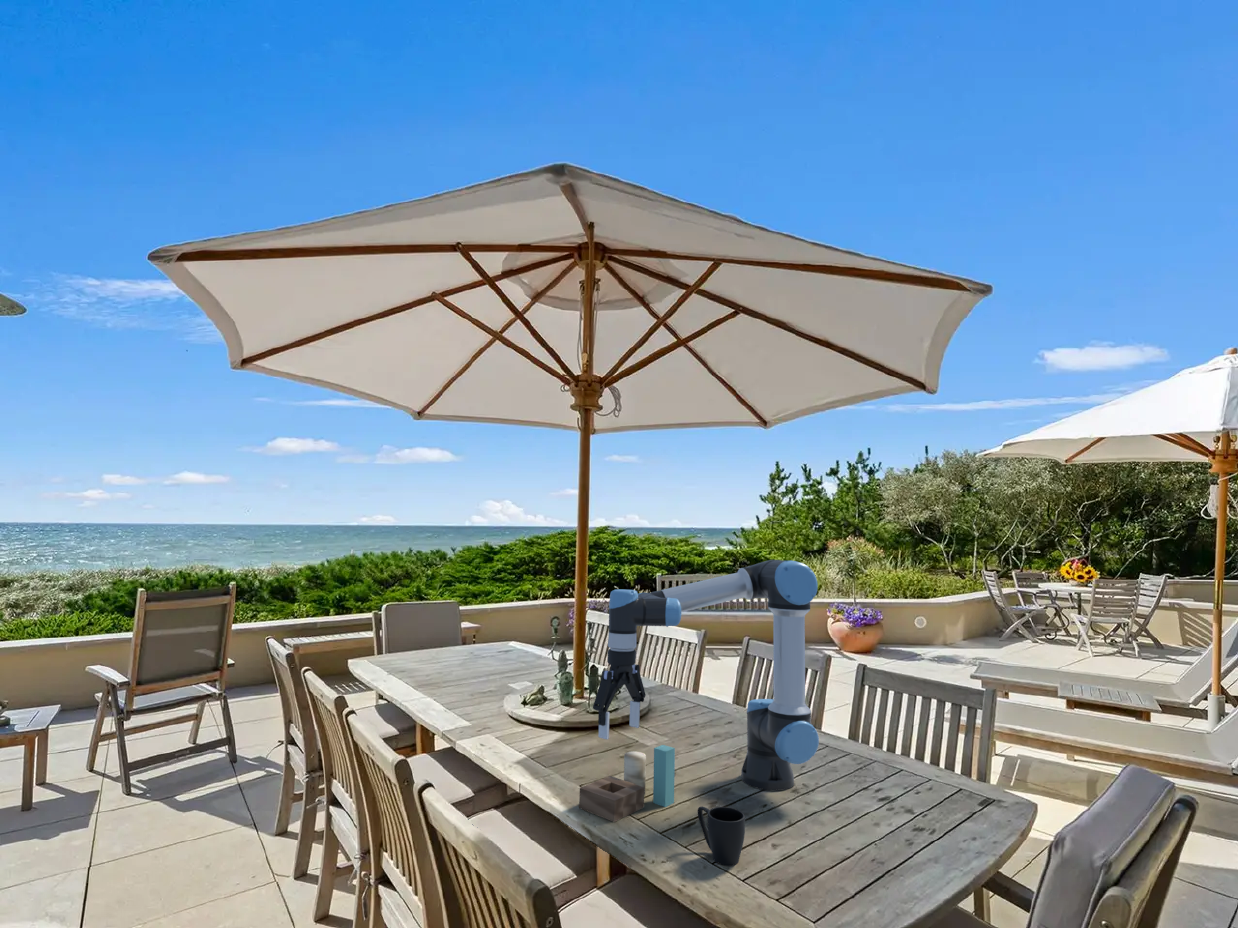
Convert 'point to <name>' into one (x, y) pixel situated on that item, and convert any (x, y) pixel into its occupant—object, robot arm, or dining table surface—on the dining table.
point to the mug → (723, 833)
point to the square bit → (664, 775)
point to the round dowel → (635, 768)
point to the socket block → (611, 798)
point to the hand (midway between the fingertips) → (619, 732)
